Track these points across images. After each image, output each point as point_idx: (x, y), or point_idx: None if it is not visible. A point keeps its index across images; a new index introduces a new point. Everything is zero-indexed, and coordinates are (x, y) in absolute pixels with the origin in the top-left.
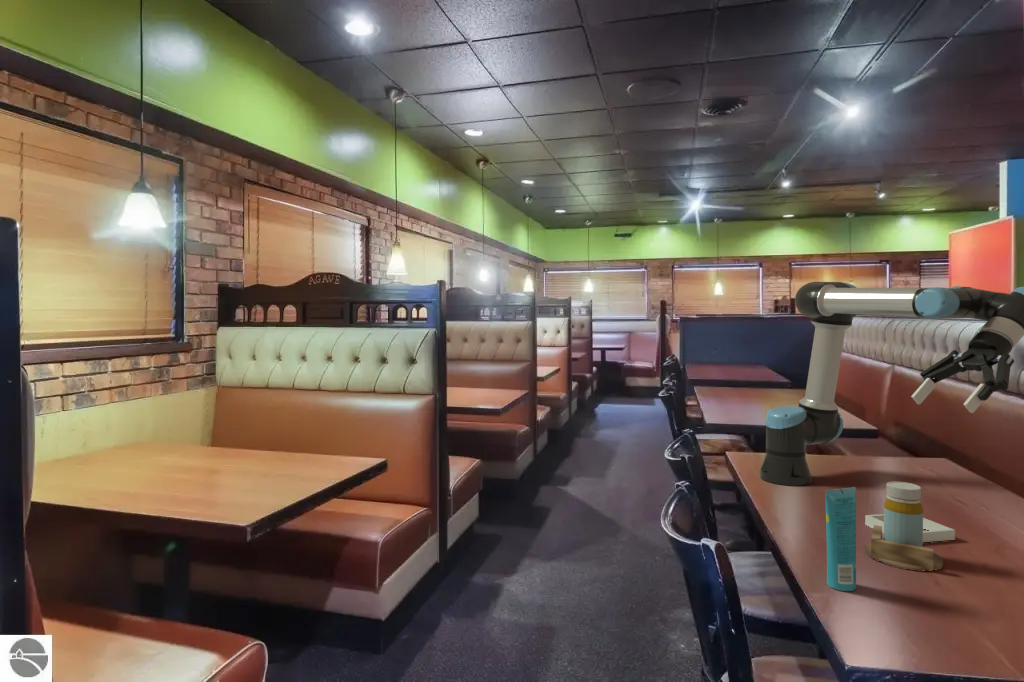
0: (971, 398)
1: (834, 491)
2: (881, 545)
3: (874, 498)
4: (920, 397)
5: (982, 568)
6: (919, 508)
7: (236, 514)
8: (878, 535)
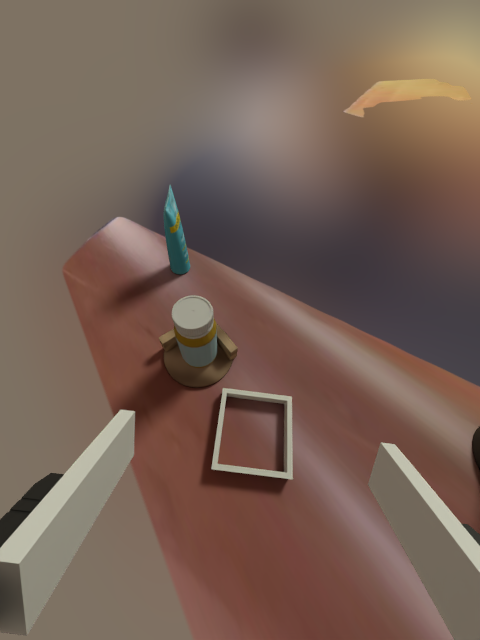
0: (98, 436)
1: (168, 191)
2: None
3: None
4: (387, 489)
5: (144, 406)
6: (174, 327)
7: (358, 110)
8: None
